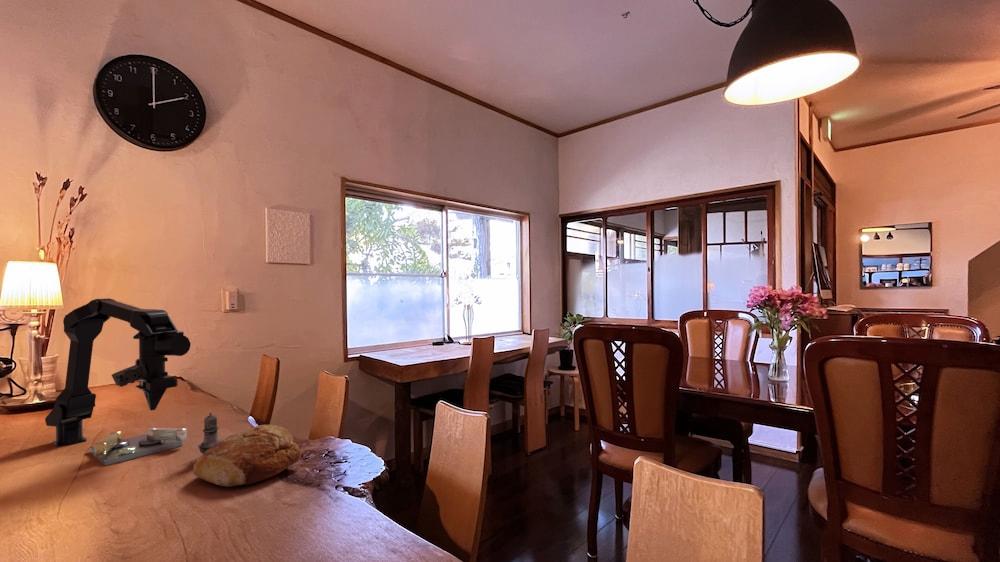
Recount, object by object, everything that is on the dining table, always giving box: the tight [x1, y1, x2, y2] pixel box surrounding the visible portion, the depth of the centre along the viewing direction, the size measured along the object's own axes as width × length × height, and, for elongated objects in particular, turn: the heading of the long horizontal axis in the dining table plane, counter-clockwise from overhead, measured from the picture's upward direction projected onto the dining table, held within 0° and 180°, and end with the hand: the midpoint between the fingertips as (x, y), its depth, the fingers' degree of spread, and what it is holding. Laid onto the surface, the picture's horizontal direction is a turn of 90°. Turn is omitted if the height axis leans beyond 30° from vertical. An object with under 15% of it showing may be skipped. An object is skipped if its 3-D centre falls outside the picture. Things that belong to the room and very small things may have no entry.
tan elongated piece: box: [93, 430, 129, 456], centre depth 119 cm, size 13×6×4 cm, turn 23°
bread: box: [193, 424, 302, 488], centre depth 108 cm, size 20×18×10 cm
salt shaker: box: [197, 412, 223, 460], centre depth 118 cm, size 6×6×12 cm
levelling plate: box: [89, 433, 184, 467], centre depth 124 cm, size 16×17×2 cm
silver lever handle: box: [139, 427, 188, 446], centre depth 125 cm, size 13×6×4 cm, turn 86°
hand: (152, 409), depth 123 cm, fingers closed
